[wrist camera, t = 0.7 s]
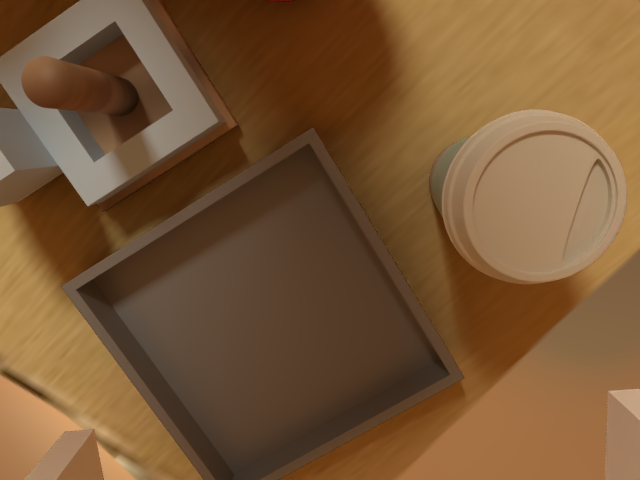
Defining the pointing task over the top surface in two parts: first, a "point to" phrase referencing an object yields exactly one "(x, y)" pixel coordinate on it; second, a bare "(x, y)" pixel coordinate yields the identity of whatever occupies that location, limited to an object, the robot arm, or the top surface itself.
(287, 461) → the tray
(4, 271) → the top surface
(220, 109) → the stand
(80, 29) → the ring
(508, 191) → the coffee cup
